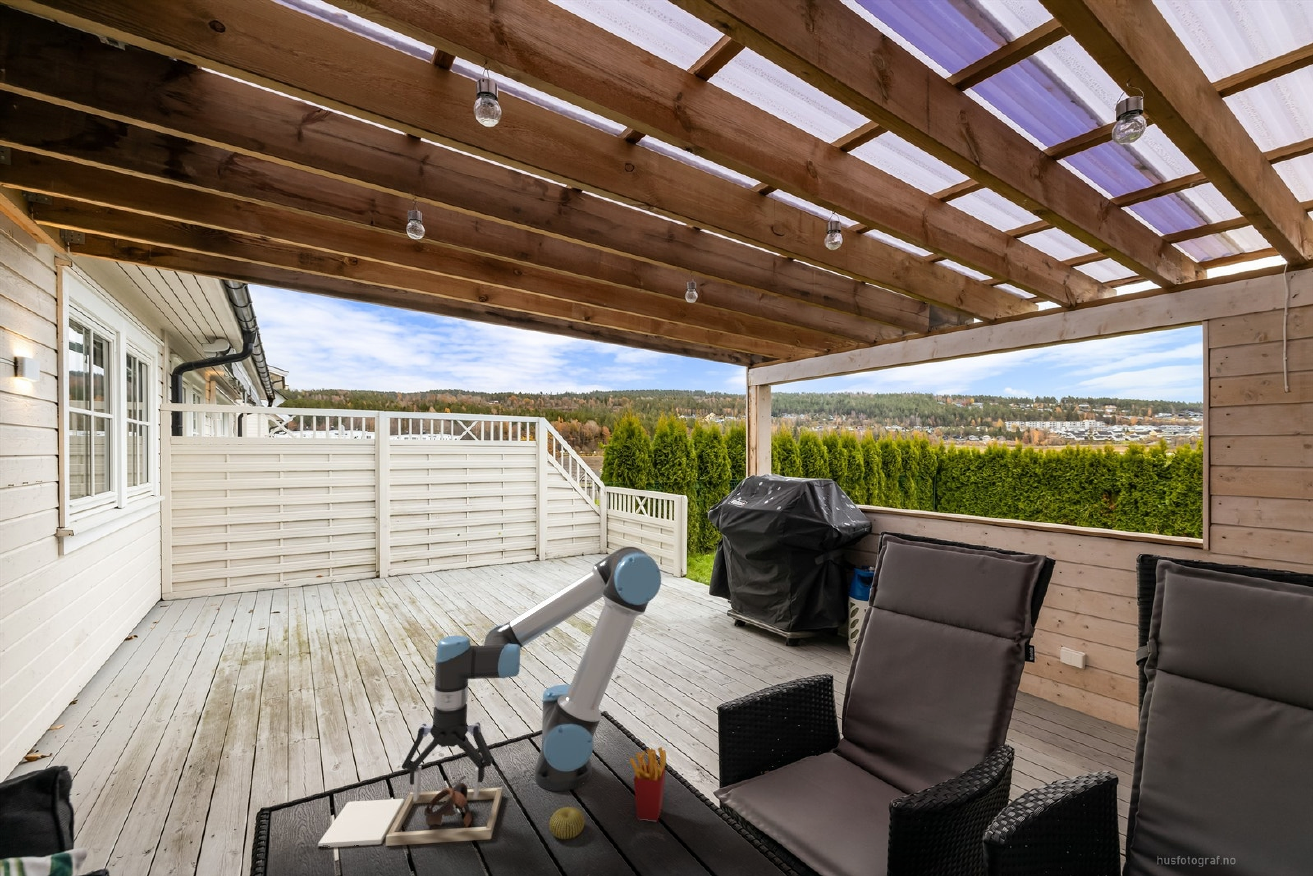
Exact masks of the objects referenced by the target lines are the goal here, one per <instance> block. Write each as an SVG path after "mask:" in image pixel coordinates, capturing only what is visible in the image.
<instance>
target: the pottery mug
mask: <svg viewBox="0 0 1313 876" xmlns="http://www.w3.org/2000/svg"><path fill="white" fill-rule="evenodd" d="M467 789H468V787H467V785H466V784H465V783H464V782H460V783H458V784H456V785H455V786H454V788H452V787H447V788H443V789H441V790H440V791H441V792H439V793H438V794H437V795H436V796H434V797H433V798H432V800H431V801H430V803H429V804H430V806H429V805H427V806H426V807H425V809H424V816H425V817H426V818H425V823H426V825H427V826H435V825H438V826H442V825H443V824H442V820H443V816H444V817H449V816H450V817H453V816H454V815H455V816H456V812H455V809H457V810H458V809H459V810H463V809H464V812H465V815H464V817H463V818H462V822H463V823H464V826H465V827H464V828H469V826H470V824H471V822H472V820H473V819H472V818H473V815H472V813H471V810H470V807H469V803H468V800H466V799H467V793H468V790H467ZM448 794H449V795H450V796H449V798H448V800H447V801H446V802H444V803H443V804H442V805H441V806H440V807H439V808H438V809H436V810H435V811H433V808H434V807H435V806H436V805H437V804H438V803H439V802H438V801H439V800H441V799H442V798H443V797H445V796H447V795H448ZM454 806H455V808H454Z"/></svg>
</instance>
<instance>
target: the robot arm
mask: <svg viewBox="0 0 1313 876" xmlns="http://www.w3.org/2000/svg"><path fill="white" fill-rule="evenodd" d="M661 584H662V574H661V570H660V568H659V565H658V564H657V561H655V560H654V558H653V557H651V556H650V555H648V554H647V553H646V552H645V551H644V550H643V549H641V548H638V547H635V546H625V547H621V548H619V549H617V550H615V551H614V552H612V553H610V554H609V555H608V556H606V557H605V558H603V559H601V560H600V561H598V562H597V563H595V564H594V565H593V566H592V569H591V571H590V572H588V573H586V574H584V575H583V576H581V577H579V578H577V579H576V580H575V581H573V582H571V583H570V584H568V585H566V586H565V587H564V588H561V589H560V590H558V591H557V592H554V594H552V595H550V596H549V597H547V598H545V599H544V600H542V601H541V602H539V603H538V604H536V605H534V606H532V607H530V608H529V609H527V610H525V611H524V612H523V613H521V614H519V615H518V616H516V617H514V618H513V619H511V620H509V621H508V622H506V623H504V624H501V625H500V624H499V625H496V626H494V627H492V628H491V629H490V630H489V631H488V633H487V634H486V636H485V639H484V644H483V645H471V644H472V643H471V639H470V638H469V637H468V636H465V635H448V636H446V637H443V638H442V639H440V641H438V643H437V647H436V656H435V665H434V666H435V668H434V669H435V670H434V671H435V672H434V674H435V675H434V692H433V693H434V694H433V695H434V696H433V706H434V707H433V715H432V716H433V718H432V726H431V725H430V726H429V725H428V726H427V724H426V723H422V724H421V725H420V727H419V729H418V731H417V736H416V740H415V741H414V743H413V745H412V746H411V748H410V750H409V752H408V754H407V756H406V757H405V759H404V760H403V763H402V765H401V769H403V770H409V784H410V785H411V786H412V785H413V792H414V794H413V801H417V799H418V797H419V795H420V792H421V784H422V783H421V782H422V781H421V780H422V765H421V764H422V763H423V761H424V760H426V758H427V757H428V756H429V755H430V754H431V752H433V750H434V749H435V748H436V747H437V746H440V747H441V748H445V747H451V748H452V747H453V748H454V747H456V746H458V748H459V749H461V750H462V751H463V752H464V753H465V754H466V756H467V757H468V758H469V760H471V761H472V763H473V764H474V765H475V769H474V774H473V775H474V776H473V777H474V778H473V779H474V780H473V781H474V782H473V789H474V799H477V797H478V794H479V789H480V783H483V780H484V779H485V771H486V770H485V768H486V767H490V766H492V763H493V760H494V757H493V755H492V753H491V751H490V748H489V746H488V744H487V741H486V740H485V737H484V736H483V733H482V731H481V728H482V727H481V723H480V722H478V721H477V722H476V723H475V724H471V725H468V720H467V719H468V718H467V717H468V698H469V694H468V693H469V680H480V679H481V680H482V679H483V680H484V679H507V678H514V677H517V676H518V675H519V674H520V670H521V668H520V667H521V649H522V648H523V647H525V646H526V645H528V644H530V643H531V642H533V641H534V640H535V639H538V638H539V637H540V636H542V635H544V634H546V633H547V632H549V631H550V630H552V629H554V628H555V627H557V626H559V625H560V624H562V623H563V622H564V621H567V620H568V619H570V618H571V617H573V616H575V615H576V614H578V613H579V612H581V611H582V610H584V609H586V608H587V607H589V606H591V605H592V604H594V603H595V602H598V600H601V599H602V598H603V599H604V600H603V601H604V605H603V608H602V609H601V612H600V613H599V614H600V615H599V616H598V619H597V622H596V624H595V627H594V629H593V630H592V634H591V636H590V637H589V641H588V643H587V645H586V648H585V651H584V653H583V655H582V656H581V659H580V662H579V664H578V666H577V669H576V672H575V674H574V676H573V678H572V681H571V683H570V684H557V685H554V686H550V687H548V688H546V689H545V690H544V691H543V694H542V699H541V703H542V721H541V722H542V723H541V725H542V726H541V728H542V730H541V736H542V737H541V741H542V742H541V743H542V744H541V750H540V752H539V755H538V758H537V761H536V764H535V767H534V768H535V769H534V780H535V783H536V784H537V785H538V786H540V787H541V788H543V789H545V790H547V791H556V792H564V791H571V790H575V789H577V788H580V787H581V785H582V784H583V783H585V784H586V783H588V781H589V780H590V779H591V778H590V776H591V777H592V775H593V773H592V772H593V767H592V766H593V764H592V763H593V762H592V761H591V756H592V753H593V749H594V736H595V733H596V731H597V728H598V726H599V723H600V721H601V718H602V713H601V711H600V709H599V708H600V705H601V703H602V700H603V698H604V695H605V692H606V691H607V688H608V685H609V683H610V681H611V678H612V676H613V673H614V671H615V669H616V667H617V664H618V661H619V659H620V658H621V654H622V652H623V649H624V647H625V645H626V642H627V641H628V637H629V635H630V632H631V629H632V627H633V625H634V623H635V620H636V618H637V617H638V616H640V615H642V614H645V612H646V609H647V606H648V605H649V603H650V601H652V600H653V599H654V598H655V597H656V596H657V594H659V590H660V588H661ZM468 733H470V735H471V736H473V740H474V742H475V744H476V746H477V748H478V750H479V751H478V750H477V749H476V747H475V746H474V745H473V744H472V743H471V742H470V740H469V737H467V734H468ZM428 734H431V736H432V738H433V739H432V740H431V742H429V744H428V745H427V746H426V747H425V748H424V750H423V751H422V752H421V753H420V754H419V755H418V757H417V758H416V759H415V760H414V761H413V760H412V759H413V757H414V756H415V754H416V752H417V750H418V748H419V747H420V745H421V743H422V741H423V739H424V738H425V737H427V736H428ZM591 774H592V775H591ZM589 778H590V779H589ZM588 779H589V780H588ZM587 780H588V781H587ZM583 785H584V784H583ZM583 785H582V786H583ZM579 786H580V787H579ZM576 787H577V788H576ZM574 788H575V789H574ZM570 789H571V790H570Z"/></svg>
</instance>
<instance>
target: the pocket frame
mask: <svg viewBox="0 0 1313 876" xmlns="http://www.w3.org/2000/svg"><path fill="white" fill-rule="evenodd" d="M503 789H504V788H503V787H502V786H501V787H487V788H486V787H485V788H479V794H478V797H477V799H474V788H467V790H468V793H467V799H466V800H467V801H479V800H481V801H482V800H493V804H492V807H491V809H490V810H491V811H490V813H489V817H488V820H487V825H486V826H476V827H467V828H466V827H463V828H462V827H461V828H459V827H458V828H448V829H447V828H445V829H443V828H442V829H431V830H428V829H427V830H413V831H410V830H409V831H400V830H401V828H402V826H403V824H404V822H405V821H406V819H407V818H408V815H409V813H410V811H411V810H412V807H413V805H414V804H425V803H426V804H428V803H429V804H430V801H431V800H432V798H433V797H434V796H436V795H437V794H438V793H439V792H441V791H442V790H435V791H433V790H431V791H420V795H419V797H418V799H417V801H413V794H414V791H412V792H409V794H408V796H407V797H406V800H404V801H405V802H404V803H403V805H402V807H401V808H400V810H399V812H398V814H397V816H396V817H395V819H394V821H393V823H392V825H391V826H390V828H389V830H388V832H387V834H386V835H385V846H387V847H388V846H402V845H403V846H406V845H419V844H422V845H423V844H434V843H449V842H466V841H479V840H482V841H484V840H491V839H492V836H493V832H494V829H495V825H496V822H497V817H498V814H499V809H500V806H501V802H502V799H503V796H504V795H503V793H504V791H503ZM449 796H450V795H449V794H448V795H447V796H445V797H443V798H442V799H441V800H439V801H438V802H437V803H445V802H444V801H447V800H448V798H449Z"/></svg>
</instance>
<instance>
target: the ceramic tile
mask: <svg viewBox="0 0 1313 876" xmlns="http://www.w3.org/2000/svg"><path fill="white" fill-rule="evenodd" d="M404 799H405V798H392V799H377V800H375V799H374V800H357V801H354V800H353V801H347V803H346V804H345V805H344V807H343V808H342V810H341V811H340V812H339V814H338V815H337V816H336V818H335V819H334V821H333V822H332V824H331V825H330V826H329V828H328V829H327V830H326V832H325V833H324V834H323V836H322V837H321V838H320V840H319V841H318V844H317V847H318V846H323V845H328V846H330V847H329V848H340V847H343V848H344V847H353V846H354V845H355V846H356V845H359V846H373V845H381V844H382V843H383V841H384V839H385V838H386V836H387V834H388V832H389V830H390V828H391V827H392V825H393V823H394V821H395V819H396V817H397V816H398V814H399V812H400V810H401V808H402V807H403V805H404V803H405V802H404V801H405V800H404ZM355 846H354V847H355Z"/></svg>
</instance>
